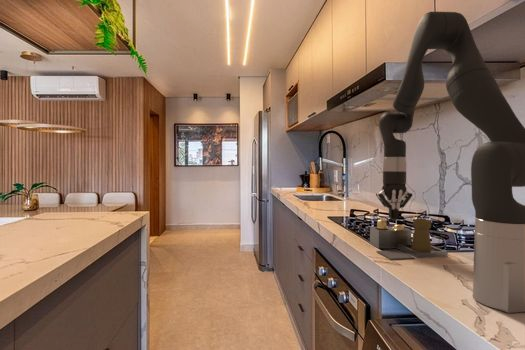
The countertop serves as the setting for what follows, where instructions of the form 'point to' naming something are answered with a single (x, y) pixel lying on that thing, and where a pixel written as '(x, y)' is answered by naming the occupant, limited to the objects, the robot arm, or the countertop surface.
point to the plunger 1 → (381, 224)
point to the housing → (400, 242)
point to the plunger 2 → (399, 227)
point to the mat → (395, 255)
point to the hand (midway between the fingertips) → (393, 219)
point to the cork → (421, 235)
